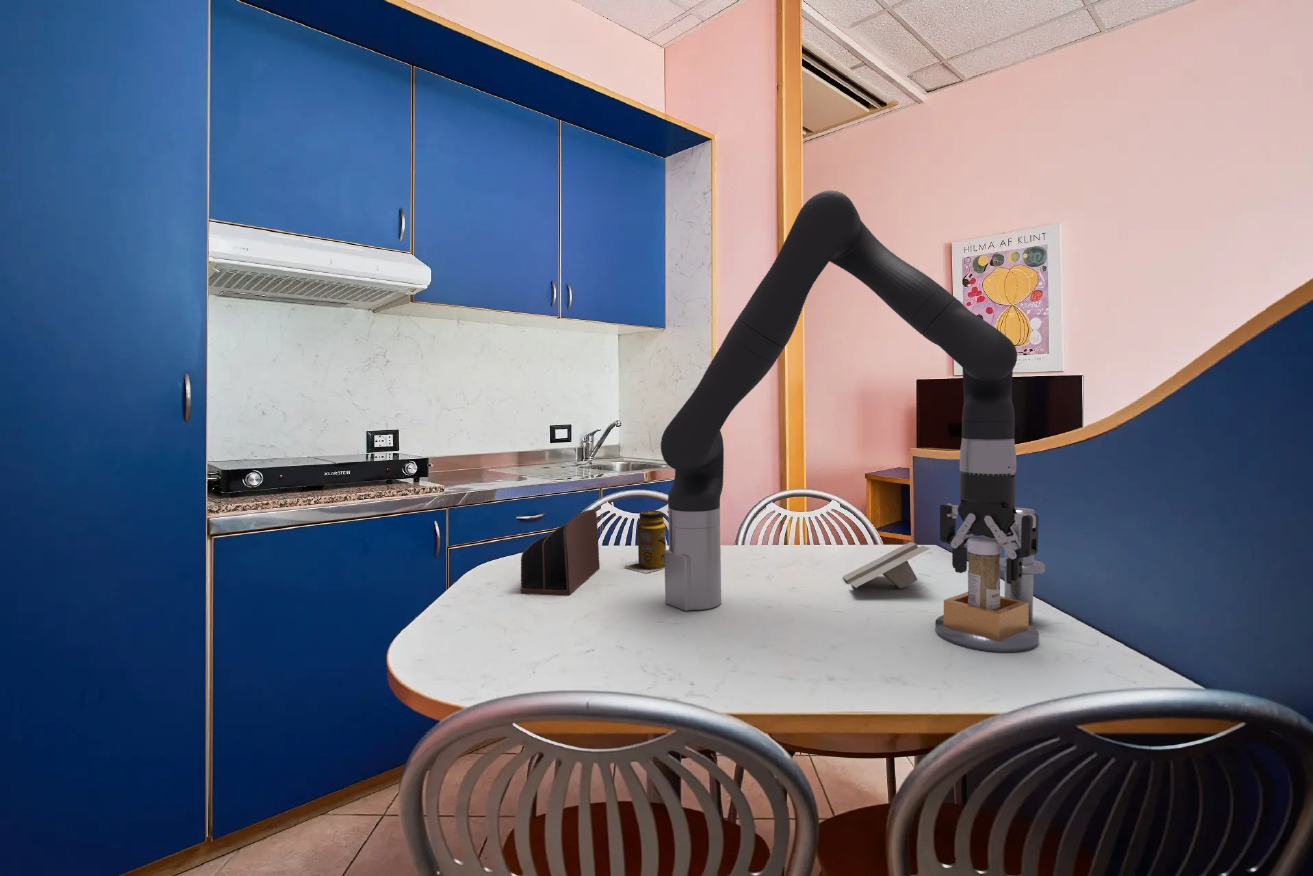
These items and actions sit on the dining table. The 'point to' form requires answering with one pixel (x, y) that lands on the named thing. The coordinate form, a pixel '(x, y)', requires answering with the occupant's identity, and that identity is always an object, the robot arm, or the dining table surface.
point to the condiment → (650, 542)
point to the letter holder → (562, 558)
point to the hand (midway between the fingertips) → (986, 577)
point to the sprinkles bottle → (984, 572)
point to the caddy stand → (995, 613)
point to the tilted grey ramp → (889, 567)
